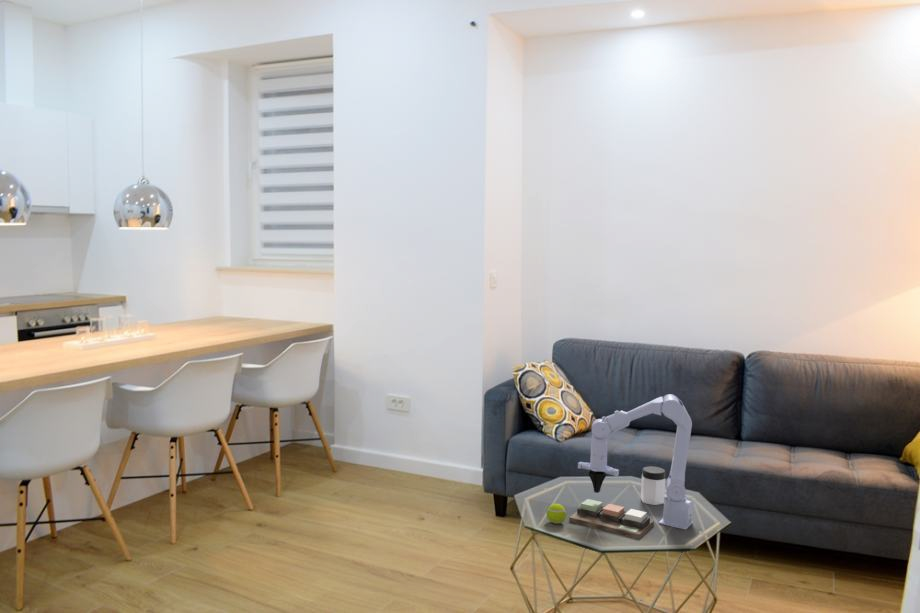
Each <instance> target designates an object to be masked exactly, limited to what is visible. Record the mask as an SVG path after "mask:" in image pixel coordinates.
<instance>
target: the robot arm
mask: <svg viewBox="0 0 920 613" xmlns="http://www.w3.org/2000/svg"><path fill="white" fill-rule="evenodd" d="M651 414H655V415H658V416H662V414H663V415H664V417H666V418H667V419H670V420H672V421H673V423H674V424H675V425H676V433H675V439H674V445H673V446H674V447H673V452H672V458H671V459H672V460H671V466H670V471H669V475H668V477H667V478H665V479H666V481H665V489H666V492H665V495H664V504H663V510H662V511H663V512H662V513H663V514H662V518H661V519H660V521H658V524H659V525H665V526H669V527H672V528H675V529H680V530H681V529H682V530H688V528H689V527H690V526H691V525H692V524H693V523H694V521H693V513H694V503H693V501H691V500H688V499H687V496H686V495H687V490H686V487H685V482H686V469H687V461H688V456H689V455H688V454H689V447H690V440H691V435H692V434H691V433H692V427H693V421H692V418H691V416H690V414H689V413H688V410H687V409H686V407H685V405H684V403H683V401H682V400H681V399H680V398H679V397H678V396H676V394H675V395H674V394H671V393H669V394H665V395H664V396H659V397H657V398H654V399H652V400H651V401H648V402H645V403H644V404H642V405H639V406H637V407H635V408H633V409H631V410H628V411H624V410H620V411H619V410H615V411H614V413H612V414H610V415H607V416H602V417H601V418H597V419H595V420H594V421H593V422H592V424H591V434H592V435H591V440H590V459H589V460H590V461H589V462H587V461H586V462H584V461H579V462H577V469H583V470H588V471H589V472H588V476H589V478H590V481H591V483H592V486H593V492H594V493H596V494H598V493H600V492H601V489H602V486H603V482H604V480H605V478H606V476H607V475H611V476H614V477H618V476H619V474H620V469H619V468H618V469H617V468H613V467H611V466H609V465H608V449H609V447H608V444H609V442H608V435H609V434H612V433H615V432H618V431H620V430H621V429H625V428H627V427H629V426H630V423H631V422H632V421H635V420H637V419H641V418H643V417H646V416H649V415H651Z"/></svg>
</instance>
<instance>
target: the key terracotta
mask: <svg viewBox="0 0 920 613" xmlns="http://www.w3.org/2000/svg"><path fill="white" fill-rule="evenodd" d="M624 511H625V507H624V506H621V505H617V504H612V503H608V504H606V505H605V507H604V508H603V514H606V515H610V516H614V517H620V516H621V515H622V514H623V513H624Z"/></svg>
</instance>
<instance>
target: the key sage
mask: <svg viewBox="0 0 920 613" xmlns="http://www.w3.org/2000/svg"><path fill="white" fill-rule="evenodd" d="M580 506H581V509H585V510H589V511H593V512H597V511H599V510H600V509H601V508H602V506H603V501H598V500H595V499H592V498H591V499H590V498H587V499H585V500H584V501H582V502H581V504H580Z"/></svg>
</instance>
